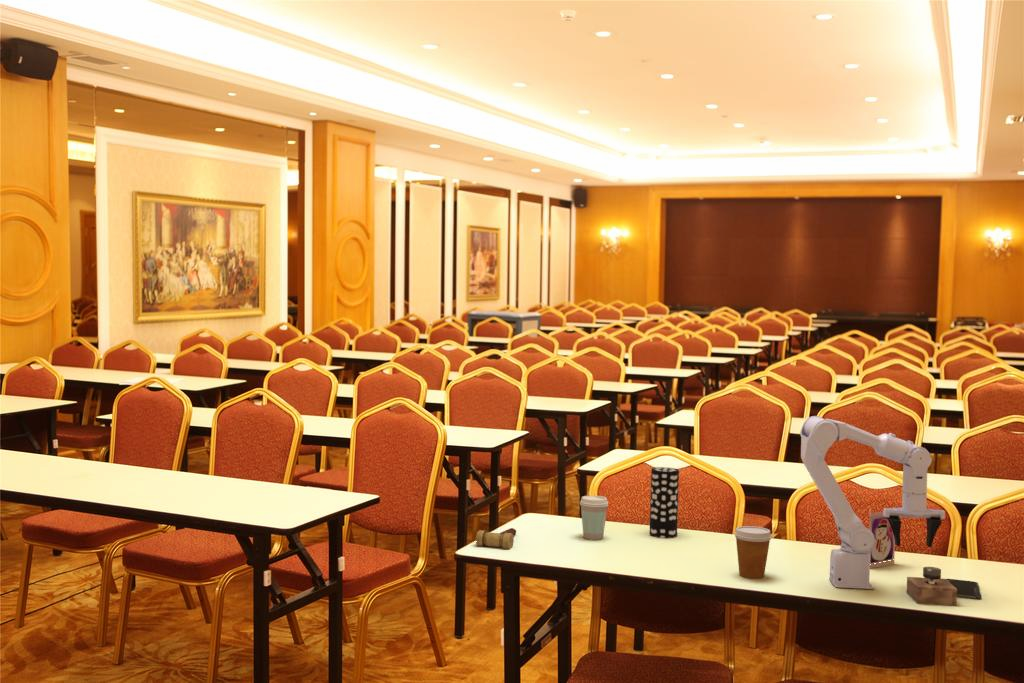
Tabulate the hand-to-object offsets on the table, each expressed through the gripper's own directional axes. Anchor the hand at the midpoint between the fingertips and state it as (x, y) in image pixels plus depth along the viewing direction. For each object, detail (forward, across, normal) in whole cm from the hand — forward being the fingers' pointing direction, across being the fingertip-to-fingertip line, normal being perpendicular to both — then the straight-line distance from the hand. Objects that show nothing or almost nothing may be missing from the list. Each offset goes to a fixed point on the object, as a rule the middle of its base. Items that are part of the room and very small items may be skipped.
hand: (913, 545), depth 256 cm
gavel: (+9, -108, +26) cm, 111 cm away
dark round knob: (+10, +1, -11) cm, 15 cm away
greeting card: (+10, -5, +21) cm, 24 cm away
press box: (+10, +1, -11) cm, 15 cm away
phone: (+11, +12, -1) cm, 16 cm away
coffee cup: (+9, -82, +35) cm, 90 cm away
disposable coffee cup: (+10, -40, +2) cm, 41 cm away
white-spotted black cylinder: (+10, -62, +43) cm, 76 cm away
